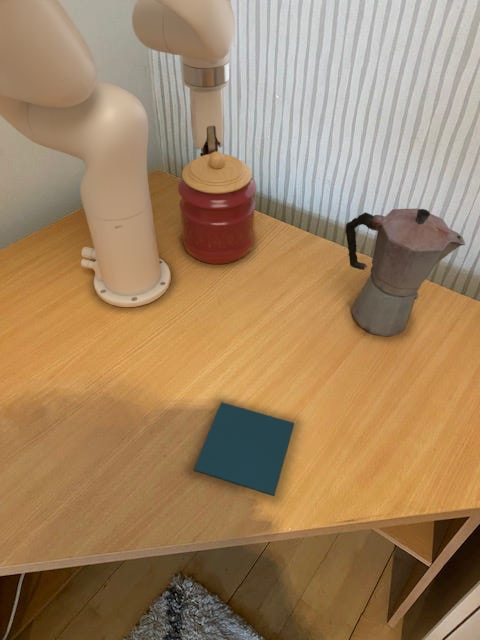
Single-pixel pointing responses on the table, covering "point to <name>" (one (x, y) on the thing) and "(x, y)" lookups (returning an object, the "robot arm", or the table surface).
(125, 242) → the robot arm
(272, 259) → the table surface
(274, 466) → the cloth
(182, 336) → the table surface
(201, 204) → the kitchen canister
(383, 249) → the moka pot
